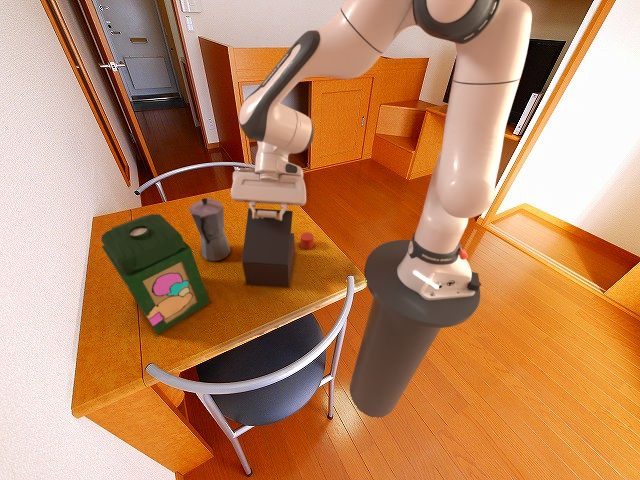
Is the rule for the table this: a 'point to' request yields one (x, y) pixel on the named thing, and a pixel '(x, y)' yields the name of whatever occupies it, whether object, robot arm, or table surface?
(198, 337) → the table surface
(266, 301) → the table surface
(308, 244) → the coffee capsule
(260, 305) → the table surface
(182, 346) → the table surface
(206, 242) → the moka pot
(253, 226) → the lid
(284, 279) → the dark carry box
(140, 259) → the container
